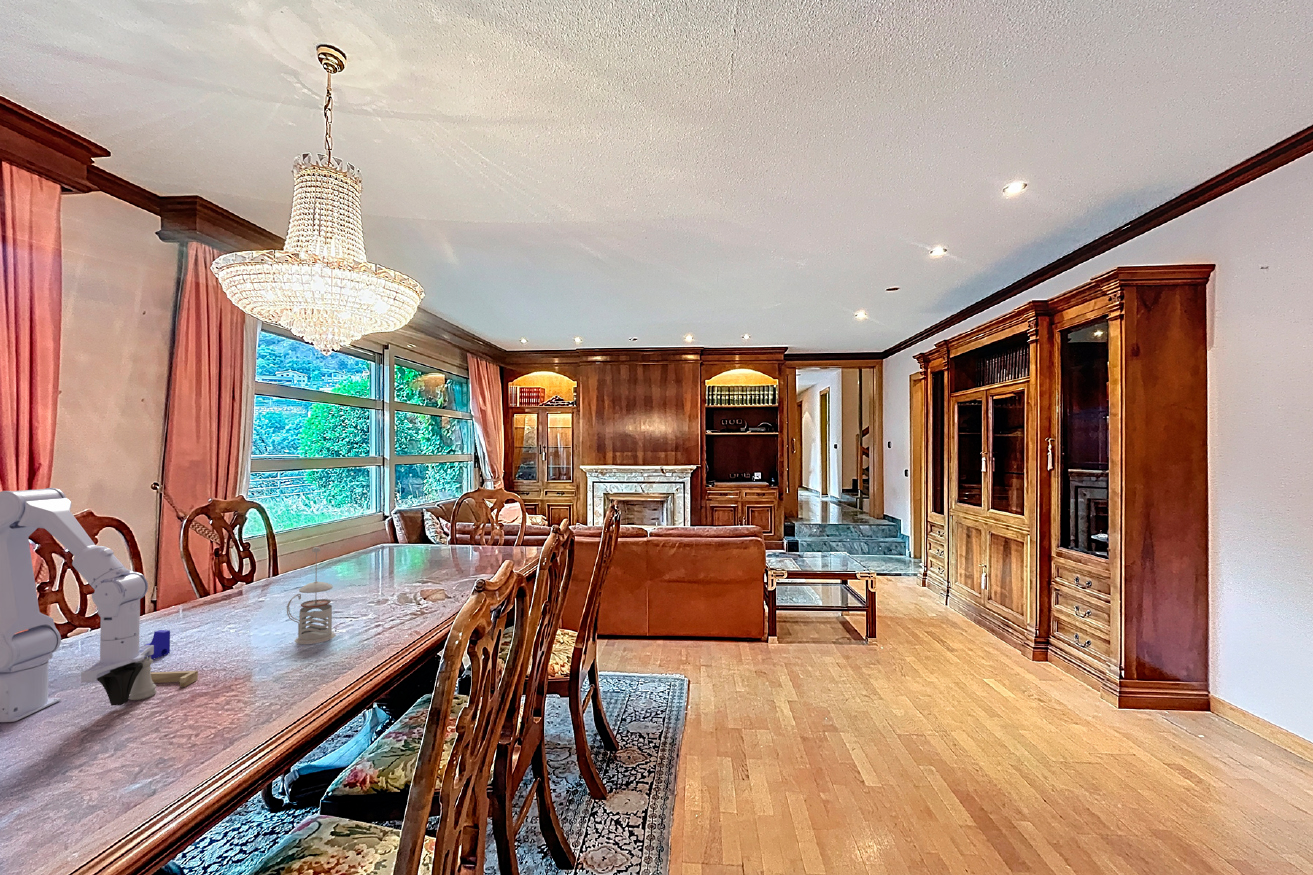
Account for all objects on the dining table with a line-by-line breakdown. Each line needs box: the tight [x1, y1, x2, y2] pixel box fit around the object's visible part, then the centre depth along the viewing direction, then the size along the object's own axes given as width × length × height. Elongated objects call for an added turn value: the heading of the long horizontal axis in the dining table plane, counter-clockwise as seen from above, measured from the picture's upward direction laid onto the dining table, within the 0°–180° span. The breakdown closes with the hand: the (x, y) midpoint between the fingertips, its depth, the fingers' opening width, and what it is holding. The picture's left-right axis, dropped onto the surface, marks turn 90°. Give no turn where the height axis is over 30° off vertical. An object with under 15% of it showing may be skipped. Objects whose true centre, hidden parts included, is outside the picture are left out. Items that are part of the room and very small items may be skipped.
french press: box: [286, 546, 337, 645], centre depth 155 cm, size 10×12×25 cm
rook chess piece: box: [128, 656, 157, 701], centre depth 118 cm, size 4×4×8 cm
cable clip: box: [144, 629, 171, 660], centre depth 138 cm, size 12×4×6 cm, turn 171°
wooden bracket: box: [151, 670, 199, 688], centre depth 124 cm, size 4×11×2 cm, turn 95°
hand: (119, 703), depth 113 cm, fingers closed
